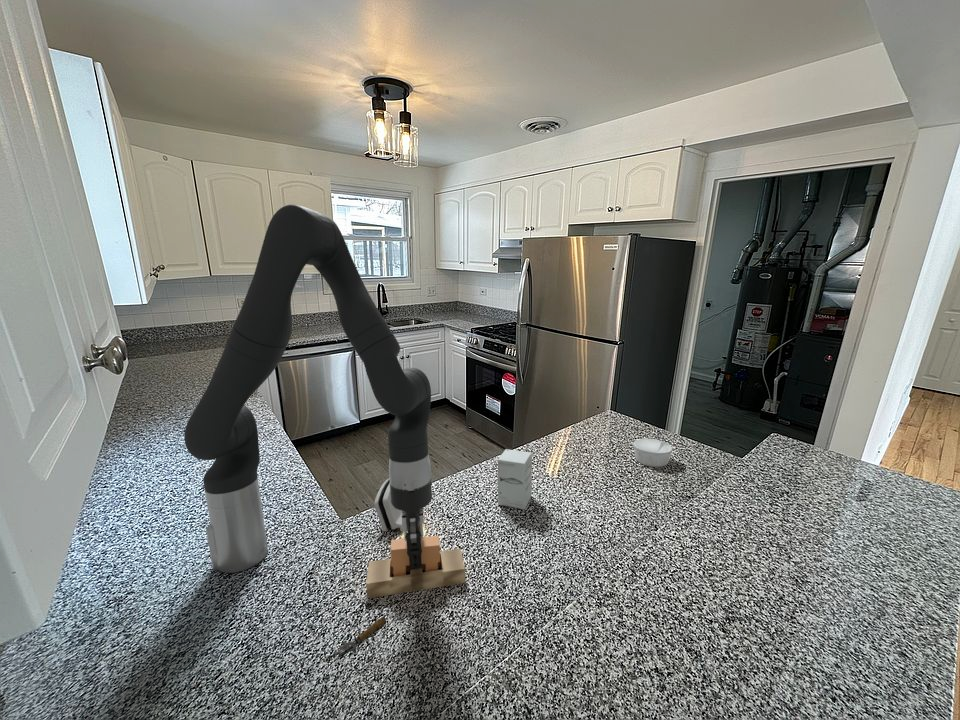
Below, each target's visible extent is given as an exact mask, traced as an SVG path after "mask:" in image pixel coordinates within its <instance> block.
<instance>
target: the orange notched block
mask: <svg viewBox="0 0 960 720" xmlns="http://www.w3.org/2000/svg"><path fill="white" fill-rule="evenodd" d="M390 544H391V545H390V558H391V567H393V568H394V574H393V577H397V576H403V575H407V572H406V565H410V563H409V556H408V554H407V541H405V539H404V538H401V539H400V538H398V539H391V543H390ZM421 546H422V552H421V553H422V554H421V562H422V564H425V569H424V571H425V572H430V571H436V570H439V567H438V562H440V551H441V542H440V535H430V536H423V539H421Z"/></svg>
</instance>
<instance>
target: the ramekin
mask: <svg viewBox="0 0 960 720" xmlns="http://www.w3.org/2000/svg"><path fill="white" fill-rule="evenodd" d="M632 446H633V450H634V457H635V459H636V461H637V462H638V463H639V464H641V465H644V466H647V467H651V468H660V467H664V466H667V465H668V464H669V462H670V458H671V454H672V453H673V447H672V445H670V444H669V443H667V442H665V441H663V440H658V439H653V438H641V439H640V438H639V439H636V440H635V441H633V443H632Z"/></svg>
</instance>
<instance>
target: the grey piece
mask: <svg viewBox="0 0 960 720" xmlns="http://www.w3.org/2000/svg"><path fill="white" fill-rule="evenodd" d="M373 505H374V508H375V511H376V515H377V518H378V520H379V523H380V526H381V529H382V531H383V530H384V531H383V532H388V530H389V529H391V530H395V529H399V530H400V532H401V533H404V532H403V531H404V526H403V525H402V510H398V509H396V508H394V507H393V505H392V503H391V494H390V479H389V478H387V479H386V480H385V481H384V482H383V483H382V484H381V485H380V488H379V490H378V492H377V494H376V496H375V499H374V504H373Z"/></svg>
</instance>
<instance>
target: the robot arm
mask: <svg viewBox="0 0 960 720" xmlns="http://www.w3.org/2000/svg"><path fill="white" fill-rule="evenodd" d="M306 265H308V266H309V265H310V266H313V267H314V268H315V269H316V271H317V272H318V273H319V274H320V275H321V276H322V277H323V279H324V280H325V282H326V283H327V285H328V287H329V288H330V290H331V292H332V295H333V297H334V300H335V304H336V309H337V313H338V318H339V322H340V325H341V327H342V330H343V332H344V334H345V336H346V337H347V339H348V341H349V342H350V344H351V346H352V347H353V349H354V351H355V352H356V354H357V356H358V357H359V359H360V360H361V362H362V363H363V366H364V368H365V372H366V376H367V379H368V381H369V384H370V387H371V388H370V389H371V391H372V393H373V395H374V397H375V400H376V401H377V402H378V404H379V405H380V407H381V408H382V409H383V410H384V411H386V413H389V414H391V415H393V416H394V421H393V422H392V423H391V425H390V426H389V428H388V433H387V443H388V457H389V458H388V459H389V461H388V477H389V478H388V479H390V494H391V503H392V505H393V507H394V508H396V509H398V510H402V525H403V526H404V532H403V535H404V536H403V539H405V541H407V554H408V556H409V563H410V569H411V570H413V569H420V568H421V567H422V562H421V554H422V553H421V552H422V546H421V539H423V537H424V527H423V526H424V525H423V524H424V523H425V520H424V517H425V516H424V508H425V507H427V506H428V505H429V504H430V503H431V502H432V499H433V487H432V469H431V467H432V466H431V460H430V456H429V455H430V454H429V441H428V440H429V439H428V424H429V419H430V411H431V404H432V402H431V401H432V388H431V383H430V380H429V379H428V376H427V375H426V373H424V371H422V370H421V369H419V368H416V367H407V368H404V369H402V365H401V363H400V361H399V359H398V355H399V354H400V352H401V346H400V343H399V341H398V340H397V338H396V336H395V335H394V333H393V331H392V330H391V328H390V327H389V324H387V322H386V320H385V319H384V316H383V315H382V314H381V312H380V310H379V309H378V308H377V307H378V306H376V304H375V302H374V300H373V299H372V297H371V295H370V293H369V290H368V289H367V287H366V285H365V284H364V281H363V279H362V277H361V274H360V273H359V270H358V268H357V266H356V264H355V261H354V260H353V257H352V255H351V252H350V250H349V248H348V245H347V243H346V240H345V238H344V236H343V233H342V232H341V230H340V227H339V226H338V224H337V223H336V222H335V221H334V220H333V219H332V218H331V217H329V216H328V215H326V214H323V213H321V212H320V211H316V210H313V209H311V208H308V207H305V206H302V205H299V204H287V205H285V206H282V207H280V208H279V209H278V210H277V211H276V212H275V213H274V214H273V215H272V217H271V219H270V221H269V222H268V225H267V229H266V232H265V235H264V239H263V242H262V245H261V248H260V253H259V257H258V260H257V264H256V267H255V270H254V273H253V277H252V278H251V279H252V280H251V282H250V285H249V288H248V289H247V293H246V295H245V298H244V301H243V302H242V305H241V307H240V310H239V312H238V315H237V316H236V319H235V320H234V323H233V326H232V327H231V331H230V333H229V335H228V338H227V340H226V342H225V345H224V347H223V350H222V354H221V356H220V358H219V360H218V362H217V364H216V367H215V368H214V371H213V374H212V376H211V379H210V381H209V384H208V385H207V388H206V390H204V393H203V395H202V397H201V398H200V400H199V402H198V403H197V405H196V407H195V408H194V410H193V412H192V414H191V415H190V417H189V418H188V421H187V423H186V426H185V429H184V433H183V434H184V444H185V447H186V449H187V451H188V453H189V454H190V456H192V457H194V458H195V459H197V460H201V461H212V460H214V462H213V463H212V465H211V466H210V467H209V468H208V470H207V471H206V473H205V474H204V476H203V479H202V482H203V488H204V494H205V495H204V496H205V500H206V505H207V513H208V518H209V524H208V525H207V526H206V529H205V531H206V536H207V537H206V538H207V543H208V548H209V553H210V560H211V567H212V571H219V572H221V573H227V574H232V573H233V574H234V573H238V572H243V571H245V570H248V569H250V568H252V567H254V566H255V565H257V564H258V563H260V562H262V561H263V560H264V559H265V557H266V556H267V554H268V552H269V550H268V549H269V547H268V540H267V533H266V526H265V519H264V512H263V506H262V505H263V504H262V498H261V491H260V483H259V482H260V481H259V477H258V475H259V474H258V468H259V465H260V460H261V459H260V458H261V457H260V444H259V443H260V442H259V430H258V425H257V421H256V418H255V416H254V414H253V413H252V411H251V410H250V408H249V407H247V406H246V403H247V401H248V400H249V399H250V398H251V397H252V395H253V394H254V393H255V392H256V391H257V390H258V389H259V388H260V387H261V386H262V385H263V384H264V383H265V382H266V380H267V379H268V378H270V377H269V376H271V374H272V373H273V372H274V370H276V368H277V366H278V365H279V363H280V362H281V360H282V358H283V355H284V353H285V351H286V348H287V347H288V344H289V342H290V340H291V337H292V332H293V316H292V315H293V314H292V303H291V302H292V295H293V291H294V289H295V286H296V284H297V282H298V279H299V278H300V275H301V273H302V272H303V270H304V268H305V267H306Z"/></svg>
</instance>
